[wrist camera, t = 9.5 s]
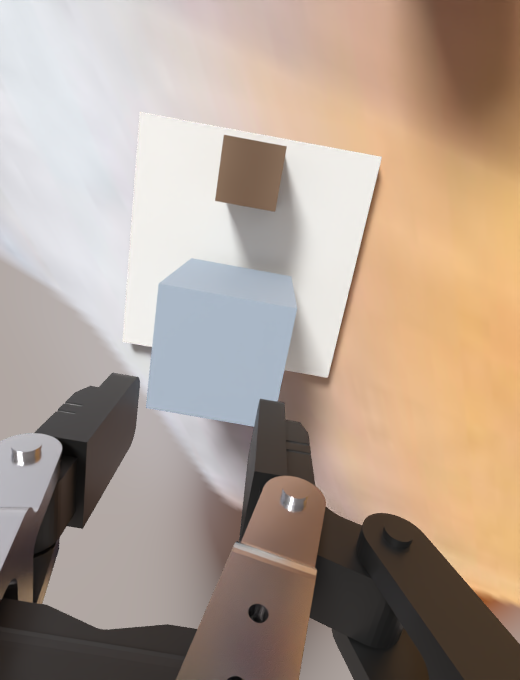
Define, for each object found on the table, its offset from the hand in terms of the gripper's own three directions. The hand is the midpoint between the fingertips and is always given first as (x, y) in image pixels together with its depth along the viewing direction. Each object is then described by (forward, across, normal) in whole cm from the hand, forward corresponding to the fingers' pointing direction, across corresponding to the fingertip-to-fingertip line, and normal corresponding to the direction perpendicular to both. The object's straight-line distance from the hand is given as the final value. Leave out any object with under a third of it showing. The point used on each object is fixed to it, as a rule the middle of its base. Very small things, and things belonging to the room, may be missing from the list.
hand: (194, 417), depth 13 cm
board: (+13, 0, -3) cm, 14 cm away
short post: (+13, 0, -7) cm, 15 cm away
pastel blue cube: (+11, 0, 0) cm, 11 cm away
